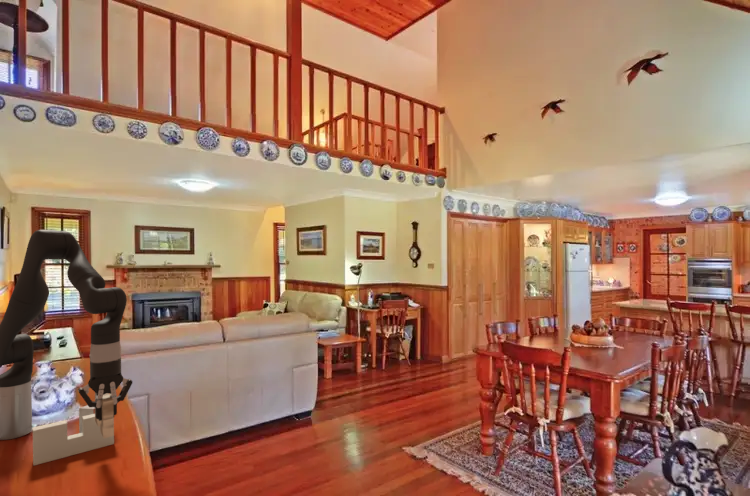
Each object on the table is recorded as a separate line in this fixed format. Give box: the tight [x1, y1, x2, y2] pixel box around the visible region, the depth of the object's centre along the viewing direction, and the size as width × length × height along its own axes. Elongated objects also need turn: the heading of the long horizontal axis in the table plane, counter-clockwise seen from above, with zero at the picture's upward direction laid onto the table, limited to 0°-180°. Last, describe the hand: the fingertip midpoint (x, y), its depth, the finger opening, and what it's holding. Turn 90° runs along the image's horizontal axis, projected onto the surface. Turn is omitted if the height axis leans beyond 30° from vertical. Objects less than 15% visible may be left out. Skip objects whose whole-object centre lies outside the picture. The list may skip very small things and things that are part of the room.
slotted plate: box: [94, 392, 115, 438], centre depth 124 cm, size 16×2×10 cm, turn 41°
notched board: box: [32, 414, 115, 466], centre depth 130 cm, size 20×3×10 cm, turn 131°
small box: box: [78, 404, 95, 433], centre depth 141 cm, size 8×6×10 cm
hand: (106, 418), depth 121 cm, fingers closed on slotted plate, 2 cm apart
